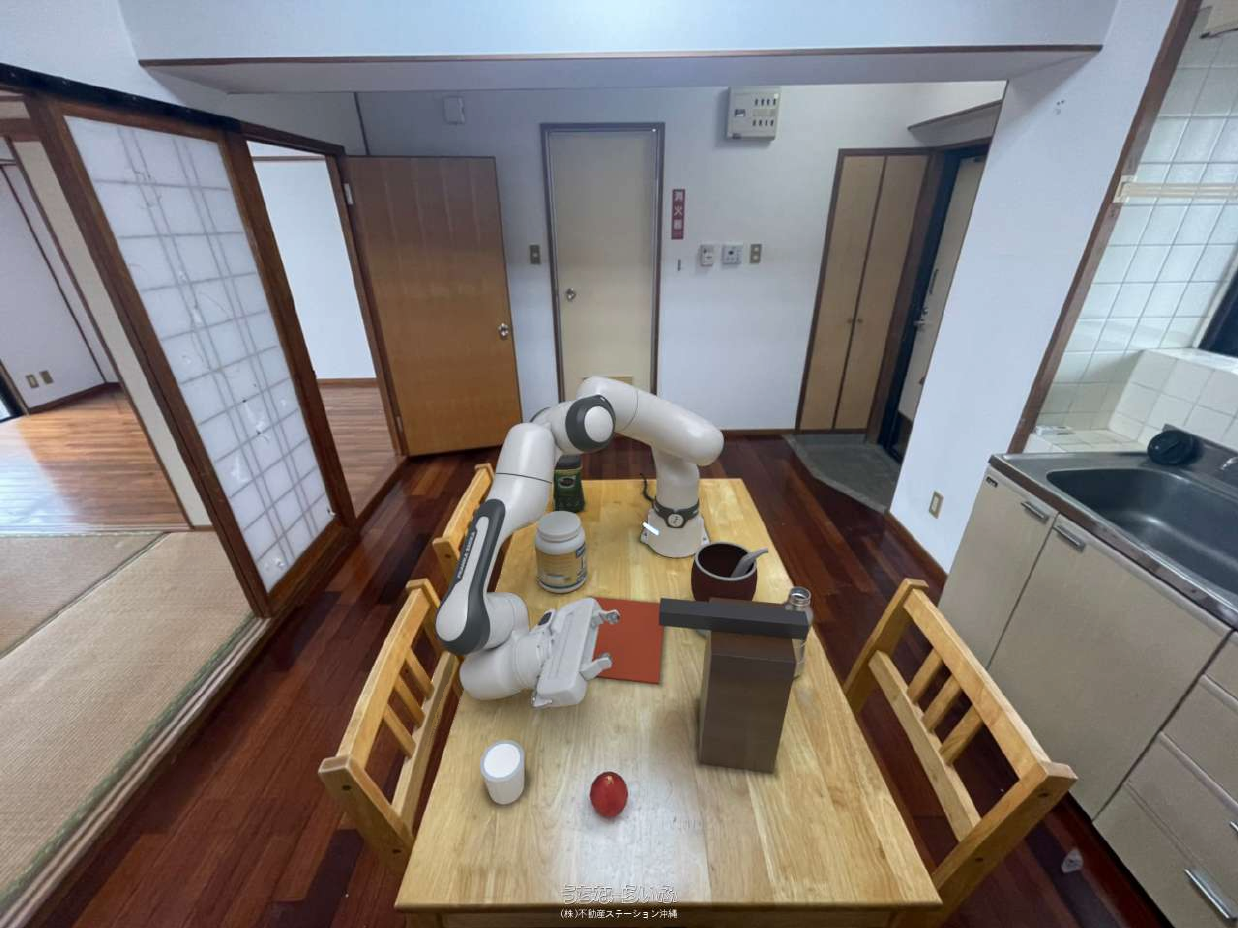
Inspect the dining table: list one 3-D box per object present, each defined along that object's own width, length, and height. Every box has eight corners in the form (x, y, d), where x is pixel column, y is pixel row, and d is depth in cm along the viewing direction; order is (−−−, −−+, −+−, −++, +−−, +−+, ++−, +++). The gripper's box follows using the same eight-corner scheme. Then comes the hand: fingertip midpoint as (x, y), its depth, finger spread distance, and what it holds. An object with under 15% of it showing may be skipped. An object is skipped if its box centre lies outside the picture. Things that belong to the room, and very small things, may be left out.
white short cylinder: (477, 783, 84) (471, 757, 81) (514, 757, 88) (510, 731, 85) (498, 818, 80) (492, 791, 76) (536, 788, 83) (532, 762, 80)
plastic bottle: (804, 685, 101) (822, 607, 91) (768, 679, 102) (782, 602, 93) (800, 659, 106) (817, 583, 97) (766, 654, 107) (780, 579, 98)
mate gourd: (690, 643, 110) (696, 569, 101) (685, 598, 122) (690, 528, 113) (763, 644, 110) (776, 570, 100) (751, 599, 122) (761, 529, 113)
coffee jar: (584, 499, 162) (582, 446, 154) (584, 513, 155) (582, 458, 147) (553, 500, 162) (549, 447, 153) (552, 514, 155) (548, 459, 146)
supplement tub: (589, 592, 124) (587, 535, 117) (538, 598, 123) (532, 540, 115) (584, 561, 135) (582, 506, 127) (537, 566, 133) (532, 510, 126)
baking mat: (589, 598, 123) (589, 596, 122) (665, 605, 120) (665, 603, 120) (568, 674, 103) (568, 672, 103) (658, 684, 101) (658, 682, 101)
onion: (583, 813, 80) (581, 782, 76) (604, 781, 84) (603, 751, 81) (614, 835, 77) (613, 805, 74) (634, 802, 82) (635, 771, 78)
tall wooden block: (699, 702, 97) (710, 597, 85) (764, 709, 96) (784, 603, 84) (699, 763, 87) (711, 653, 75) (772, 773, 85) (796, 662, 73)
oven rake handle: (659, 611, 82) (660, 597, 81) (802, 625, 80) (805, 610, 78) (658, 625, 80) (659, 611, 78) (805, 640, 77) (809, 625, 76)
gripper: (516, 697, 78) (594, 676, 74) (548, 603, 96) (613, 581, 92) (538, 723, 81) (615, 704, 76) (566, 626, 99) (629, 606, 94)
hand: (614, 636), depth 84 cm, fingers open, 8 cm apart
